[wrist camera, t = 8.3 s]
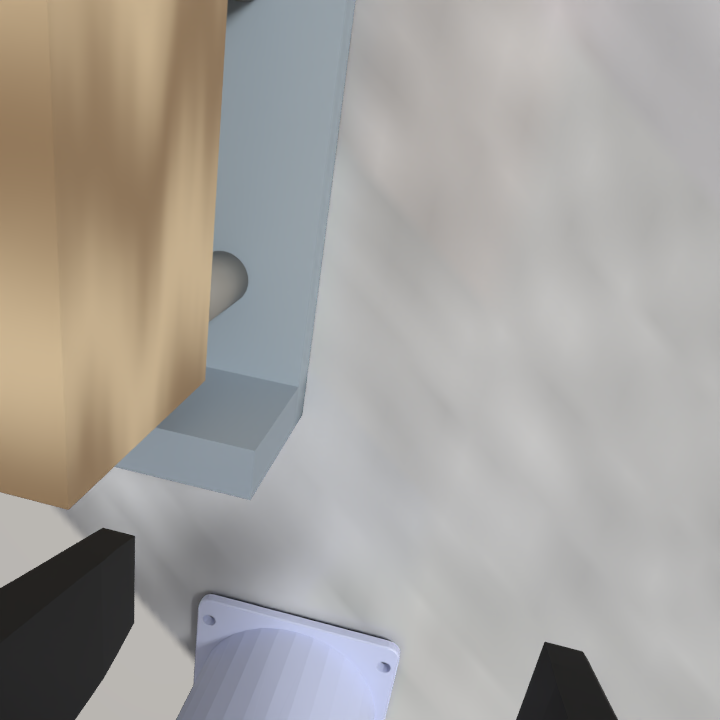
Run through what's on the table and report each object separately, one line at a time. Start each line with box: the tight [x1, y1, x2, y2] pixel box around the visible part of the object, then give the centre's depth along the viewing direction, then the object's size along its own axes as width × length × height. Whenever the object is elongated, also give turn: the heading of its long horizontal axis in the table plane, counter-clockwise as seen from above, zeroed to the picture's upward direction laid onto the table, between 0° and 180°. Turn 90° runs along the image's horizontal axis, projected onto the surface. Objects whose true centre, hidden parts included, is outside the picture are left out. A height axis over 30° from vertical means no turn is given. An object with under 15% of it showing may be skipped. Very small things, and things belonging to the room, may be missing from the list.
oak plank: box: [0, 0, 228, 510], centre depth 12 cm, size 12×4×6 cm, turn 171°
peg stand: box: [114, 0, 355, 500], centre depth 15 cm, size 17×8×5 cm, turn 172°
